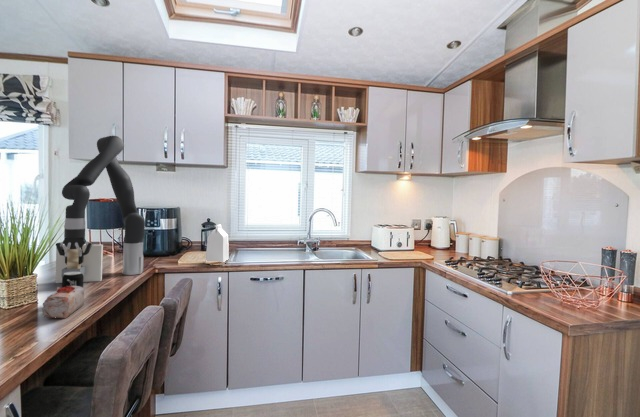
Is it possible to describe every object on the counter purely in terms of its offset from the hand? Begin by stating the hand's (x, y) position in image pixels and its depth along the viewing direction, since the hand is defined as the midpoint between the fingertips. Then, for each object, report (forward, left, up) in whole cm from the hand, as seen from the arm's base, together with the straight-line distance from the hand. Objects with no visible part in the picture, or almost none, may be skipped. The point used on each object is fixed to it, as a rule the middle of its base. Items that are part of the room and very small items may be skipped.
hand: (74, 263), depth 139 cm
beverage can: (-8, +25, -10) cm, 28 cm away
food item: (-10, +37, -11) cm, 40 cm away
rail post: (0, 0, -4) cm, 4 cm away
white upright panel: (0, -2, -10) cm, 10 cm away
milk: (-65, -38, -10) cm, 77 cm away
